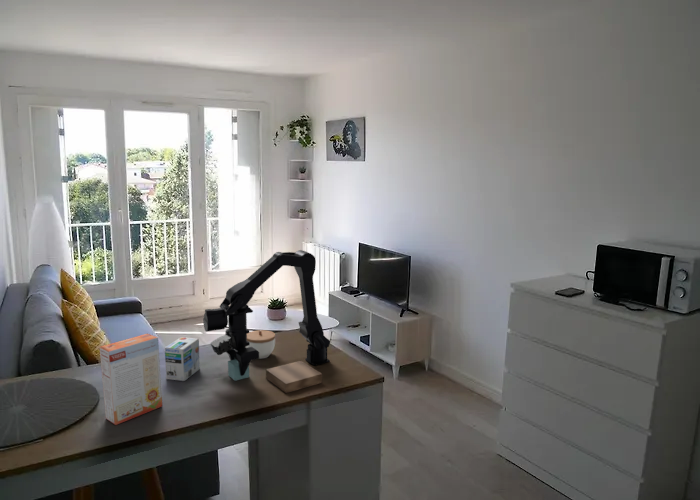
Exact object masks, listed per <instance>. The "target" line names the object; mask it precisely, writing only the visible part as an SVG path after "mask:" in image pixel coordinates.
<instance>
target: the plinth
mask: <svg viewBox="0 0 700 500" xmlns="http://www.w3.org/2000/svg"><path fill="white" fill-rule="evenodd" d="M265 378H266V380H268V381H269V382H270V383H272V384H273V385H275V386H276V387H277V388H279V389H280V390H281V391H282V392H284V393H285V394H288V393H291V392H296V391H298V390H301V389H305V388H308V387H312V386H316V385H318V384H322V383H323V373H322V372H320V371H318V370H316V369H315V368H313V367H312V366H310V365H308V364H307V363H306V362H304V361H302V360H298V361H295V362H290V363H286V364H282V365H278V366H274V367H270V368H266V370H265Z"/></svg>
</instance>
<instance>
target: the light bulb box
mask: <svg viewBox="0 0 700 500" xmlns="http://www.w3.org/2000/svg"><path fill="white" fill-rule="evenodd" d="M164 358H165V359H164V360H165V378H166V380H172V381H174V380H175V381H181V382H185V381H186V380H188V378H189V379H190V377H191V376H192V375H195V373H197V372H198V371H200V369H201V368H200V367H201V365H200V364H201V363H200V340H199V338H194V337H186V336H185V337H183V336H180V337H179V338H177V339H176V340H174V341H173V342H171V343H169V344H168V345H166V346H165V347H164Z"/></svg>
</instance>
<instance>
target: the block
mask: <svg viewBox="0 0 700 500" xmlns="http://www.w3.org/2000/svg"><path fill="white" fill-rule="evenodd" d="M227 370H228V372H227V374H228V376H229V377H230V378H231V379H232V380H234V381H235V382H236V381H239V380H244V379H247V378H250V365H249V366H248V368H247V370H246V372H245V374H244V375H243V376H241V375H240V370H239V364H238V361H237V360H236V359H234V360H230V359H229V360H228V361H227Z"/></svg>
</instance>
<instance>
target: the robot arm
mask: <svg viewBox="0 0 700 500" xmlns="http://www.w3.org/2000/svg"><path fill="white" fill-rule="evenodd" d="M316 260H317V259H316V257H315V255H313V254H312V253H310V252H308V251H305V250H303V249H300V250H296V251H295V252H293V251H291V252H290V251H286V252H282V251H276V252H274V253H273V255H272V256H271V257H269V259H267V260H266V261H265V263H263V264H262V265H260V267H259V268H258V269H256V270H255V271H254V272H253V273H252V274H251V275H250V276H248V277H247V278H246V279H245V280H243V281H240V282H237V283H236V284H234V285H232V286H231V287H230V288H228V289H227V290H226V293H225V297H224V299H223V300H222V302H221V303H220V305H219V308H207V309H204V314H203V317H202V320H203V321H202V324H203V328H204V331H205V332H212V331H214V332H215V331H221V330H224V329H226V330H225V334H224V335H221V336H219V337H217V338H216V339H214V340H212V341H211V342H210V346H211V348H212V350H213V352H214V353H215V354H216V355H218V356H220V355H223V354H224V353H226V354H227V355H228V358H229V361H230V360H234V359H236V360H237V361H238V364H239V370H240V375H241V376H243V375H244V374H245V372H246V370H247V368H248V366H249V367H250V364H251V362H252V361H256V360H258V359H259V352H258V351H257V350H256V349H254V348H253V347H249V348H246V346H248V345H249V342H248V341H247V333H249V332H250V330H249V329H248V326H247V323H248V320H247V314H250V313H251V314H252V313H253V312H254V310H253V309H252V308H251V307H249V305H248V303H249V302H250V301H251V300H252V299H253V297H254V295H255V293H256V291H257V290H258V289H259V288H260V287H261V286H262V285H264V284H265V282H267V280H269V279H270V278H271V277H272V276H273V275H274V274H275V273H277V272H278V271H279V270H280V269H281V268H282V267H284V266H287V267H294V271H295V272H296V274H297V277H298V280H299V287H300V296H301V304H302V312H303V318H302V321H298V327H299V331H298V332H299V333H300V334H301V336H302V337H303V338H304V339H305V341H306V342H307V343H309V344H307V349H306V357H305V358H304V359H305V361H306V362H308V363H309V364H311V365H313V366H318V365H323V364H326V363H329V362H330V359H329V358H328V348H329V347H330V344H331V341H330V340H329V338H327V337H326V336H325V334H324V329H323V326H322V324H321V321H320V319H319V318H318V313H317V311H318V310H317V305H316V294H315V287H314V285H315V284H314V275H315V273H316ZM227 327H228V328H227Z"/></svg>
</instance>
